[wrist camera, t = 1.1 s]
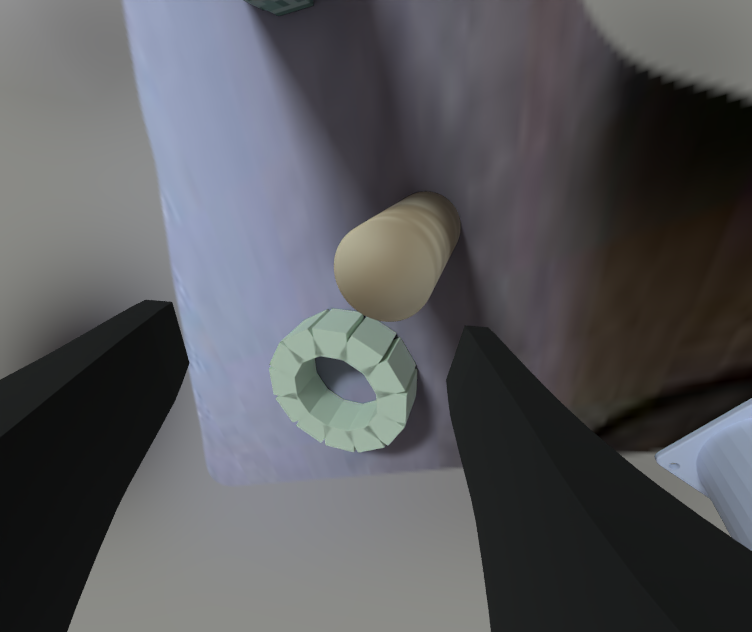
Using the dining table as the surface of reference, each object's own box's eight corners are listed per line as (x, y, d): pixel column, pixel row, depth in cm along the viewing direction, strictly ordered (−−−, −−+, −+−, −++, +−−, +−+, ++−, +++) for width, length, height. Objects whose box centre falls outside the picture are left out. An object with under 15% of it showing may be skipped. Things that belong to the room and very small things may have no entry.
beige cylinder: (475, 217, 19) (455, 262, 12) (435, 274, 21) (399, 339, 15) (413, 176, 19) (361, 199, 13) (379, 238, 21) (319, 285, 15)
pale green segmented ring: (444, 365, 24) (436, 392, 21) (376, 442, 29) (363, 472, 27) (321, 282, 24) (299, 300, 22) (276, 374, 30) (254, 396, 27)
